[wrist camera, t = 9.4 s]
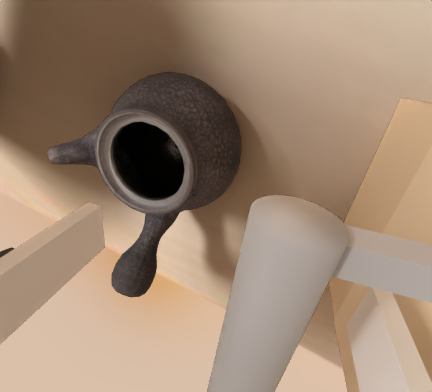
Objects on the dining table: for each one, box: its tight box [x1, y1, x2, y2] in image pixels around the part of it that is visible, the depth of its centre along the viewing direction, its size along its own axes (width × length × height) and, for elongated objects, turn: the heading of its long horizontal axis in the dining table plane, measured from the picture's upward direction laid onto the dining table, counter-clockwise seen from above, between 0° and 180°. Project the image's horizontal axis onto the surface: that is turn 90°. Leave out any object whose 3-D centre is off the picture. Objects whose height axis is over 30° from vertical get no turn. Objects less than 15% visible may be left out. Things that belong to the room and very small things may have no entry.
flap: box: [207, 146, 432, 392], centre depth 11 cm, size 11×15×8 cm
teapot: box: [48, 72, 241, 297], centre depth 22 cm, size 19×15×10 cm
